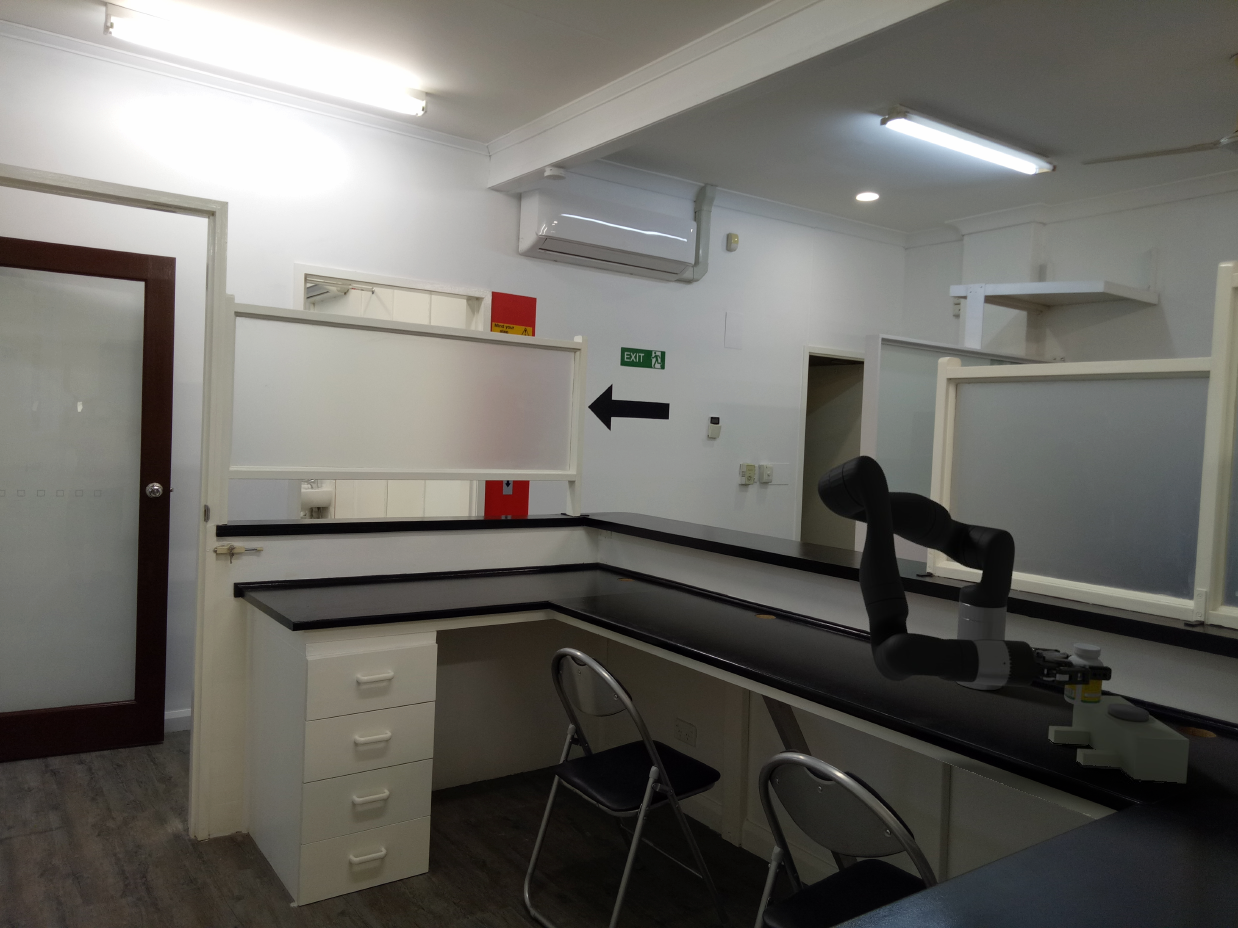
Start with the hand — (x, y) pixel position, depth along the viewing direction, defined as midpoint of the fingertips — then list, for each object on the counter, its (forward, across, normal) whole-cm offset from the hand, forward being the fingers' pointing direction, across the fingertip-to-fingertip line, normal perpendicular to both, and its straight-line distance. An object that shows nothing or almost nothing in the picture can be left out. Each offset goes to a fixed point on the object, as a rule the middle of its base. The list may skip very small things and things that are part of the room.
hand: (1100, 667), depth 144 cm
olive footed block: (+2, 0, +15) cm, 15 cm away
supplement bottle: (-3, 0, +6) cm, 7 cm away
